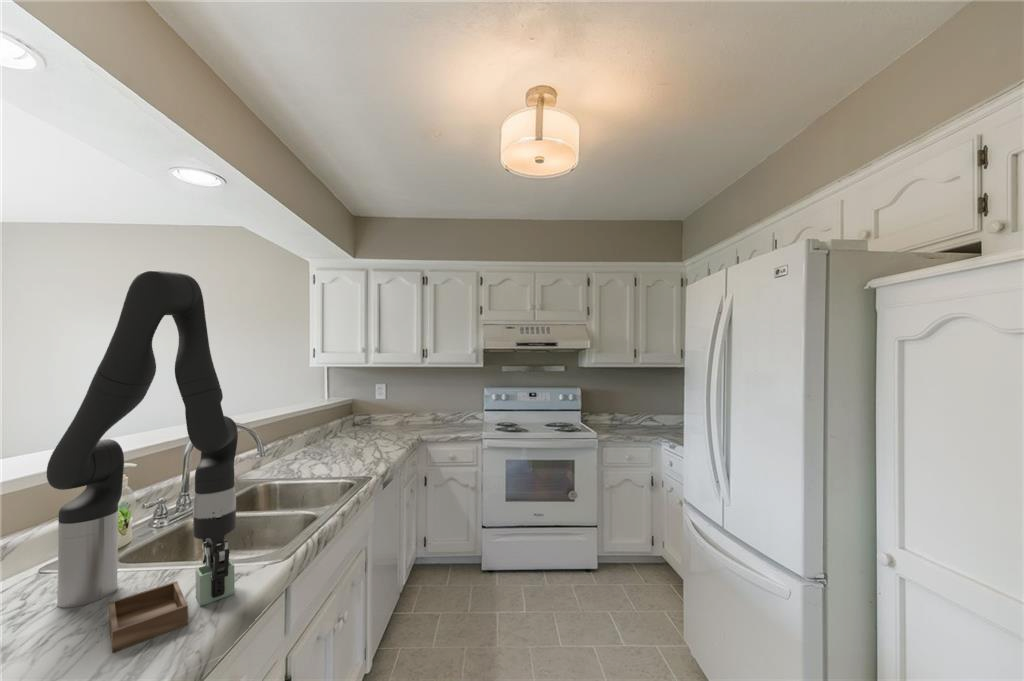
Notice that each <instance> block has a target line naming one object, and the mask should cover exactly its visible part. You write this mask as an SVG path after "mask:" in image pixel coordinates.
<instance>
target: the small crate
mask: <svg viewBox="0 0 1024 681" xmlns="http://www.w3.org/2000/svg"><path fill="white" fill-rule="evenodd" d="M220 571H222V568H221V569H218V570H217V572H220ZM210 577H211V571H210V569H208V568H207V565H205V564H204V565H202V566H198V567H196V568H195V599H196V601H197V603H198V605H199V607H202V606H204V605H205V606H206V605H207V604H211V603H214V602H215V601H218V600H221V599H225V598H226V597H230V596H232V595H235V564H234V563H233V562H232V560H231V559H230V558H229V565H228V576H226V577H225V593H224V594H223V595H221V596H219V597H216V598H212V596H211V578H210Z"/></svg>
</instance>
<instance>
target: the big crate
mask: <svg viewBox="0 0 1024 681" xmlns="http://www.w3.org/2000/svg"><path fill="white" fill-rule="evenodd" d="M108 605H109V606H108V607H109V608H108V610H109V612H108V613H109V616H108V621H109V623H108V624H109V632H110V633H109V634H110V642H111V652H112V654H113V653H116V652H119V651H121V650H125V649H126V648H129V647H132V646H135V645H138V644H139V643H142V642H145V641H147V640H150V639H154V638H155V637H158V636H161V635H163V634H166V633H170V632H172V631H174V630H177V629H179V628H181V627H184V626H187V625H189V624H188V623H189V622H188V621H189V615H188V614H189V607H188V606H189V605H188V602H187V600H186V598H185V596H184V594H183V591H182V588H181V587H180V585H179V583H178V581H177V580H175V581H172V582H168V583H166V584H163V585H159V586H157V587H154V588H151V589H147V590H144V591H140V592H137V593H135V594H131V595H128V596H125V597H122V598H118V599H115V600H113V601H109V604H108Z"/></svg>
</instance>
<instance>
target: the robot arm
mask: <svg viewBox="0 0 1024 681" xmlns="http://www.w3.org/2000/svg"><path fill="white" fill-rule="evenodd" d="M127 290H128V291H127V292H126V296H125V299H124V302H123V305H122V309H121V311H120V315H119V318H118V322H117V324H116V327H115V330H114V332H113V335H112V337H111V339H110V341H109V344H108V346H107V348H106V350H105V353H104V356H103V357H102V359H101V361H100V363H99V365H98V366H97V368H96V371H95V374H94V375H93V377H92V380H91V381H90V383H89V387H88V389H87V390H86V394H85V396H84V398H83V400H82V401H81V404H80V406H79V408H78V410H77V412H76V414H75V416H74V417H73V420H72V421H71V422H70V425H68V428H67V429H66V431H65V432H64V434H63V435H62V437H61V438H60V440H59V442H58V444H57V445H56V446H55V448H54V450H53V451H52V453H51V456H50V458H49V459H48V462H47V467H46V480H47V482H48V484H49V485H50V486H51V487H52V488H54V489H56V490H60V491H64V490H72V489H77V488H82V487H85V486H86V487H85V489H84V490H83V491H81V493H80V494H79V495H78V496H76V497H75V498H73V499H72V500H71V501H68V502H67V503H66V504H64V505H63V506H62V507H60V509H59V511H58V524H57V525H58V526H57V529H58V530H57V531H58V532H57V536H58V538H57V541H58V542H57V545H58V546H57V589H56V590H57V591H56V592H57V601H56V602H57V603H56V604H57V607H58V608H62V609H63V608H64V609H69V608H76V607H77V608H78V607H82V606H84V605H89V604H92V603H94V602H97V601H100V600H101V599H104V598H106V597H108V596H110V595H112V594H113V593H114V592H115V591H117V588H118V571H119V570H118V569H119V568H118V566H119V565H118V564H119V563H118V561H119V560H118V559H119V558H118V556H119V555H118V554H119V549H118V548H119V545H118V543H119V542H118V541H119V502H120V500H121V497H122V495H123V484H124V482H123V481H124V480H123V479H124V471H125V455H124V451H123V448H122V447H121V445H120V444H119V442H117V441H116V440H114V439H110V438H107V439H102V437H104V435H105V434H106V433H107V432H108V431H109V430H110V429H111V428H112V427H113V426H115V425H116V424H117V423H118V422H120V421H121V420H122V419H123V418H125V417H127V415H128V414H130V413H131V412H132V411H133V410H134V409H135V408H137V407H138V406H139V405H140V404H141V403H142V401H143V400H144V399H145V397H146V395H147V393H148V391H149V389H150V387H151V385H152V383H153V381H154V378H155V376H156V373H157V362H156V357H155V353H154V349H153V339H154V335H155V333H156V331H157V329H158V326H159V325H160V323H161V321H162V320H163V318H164V317H165V316H171V317H172V318H173V320H174V323H175V325H176V329H177V334H178V348H177V352H176V356H175V360H174V361H175V363H174V377H175V382H176V385H177V388H178V390H179V394H180V397H181V399H182V403H183V404H184V405H183V406H184V410H185V411H184V412H185V413H184V414H185V424H186V431H187V435H188V438H189V441H190V442H191V444H192V446H193V447H194V448H195V449H196V450H198V451H200V461H199V463H198V465H197V467H196V468H195V472H194V498H193V505H192V506H193V507H192V509H193V510H192V511H193V514H192V520H193V521H192V522H193V523H192V527H193V528H192V529H193V530H192V531H193V532H192V536H193V538H195V539H198V540H201V542H202V543H201V544H202V545H201V548H202V564H203V565H204V566H205V565H207V568H208V569H210V571H211V577H210V578H211V596H212V598H216V597H219V596H221V595H223V594H224V593H225V577H226V576H228V565H229V559H230V552H231V550H230V549H229V540H227V539H226V538H225V536H226V535H227V534H229V533H231V532H233V531H234V530H235V529H236V526H237V523H236V522H237V496H236V489H235V487H236V486H235V459H236V453H237V447H238V436H239V435H238V434H239V432H238V426H237V424H236V422H235V420H233V419H232V418H231V417H229V416H226V415H224V413H223V407H222V401H223V397H224V396H223V391H222V387H221V384H220V381H219V377H218V375H217V372H216V368H215V365H214V362H213V358H212V354H211V348H210V341H209V334H208V327H207V326H208V324H207V320H206V318H207V317H206V312H205V311H206V310H205V303H204V302H205V301H204V296H203V292H202V288H201V286H200V285H199V282H198V281H197V280H196V279H195V278H193V277H192V276H191V275H188V274H185V273H182V272H181V273H180V272H173V271H165V270H164V271H163V270H155V269H154V270H153V269H152V270H145V271H142V272H141V273H139V274H137V275H136V276H135V277H134V279H133V280H132V281H131V283H130V285H129V287H128V289H127ZM221 568H222V571H220V572H217V570H218V569H221Z"/></svg>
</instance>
